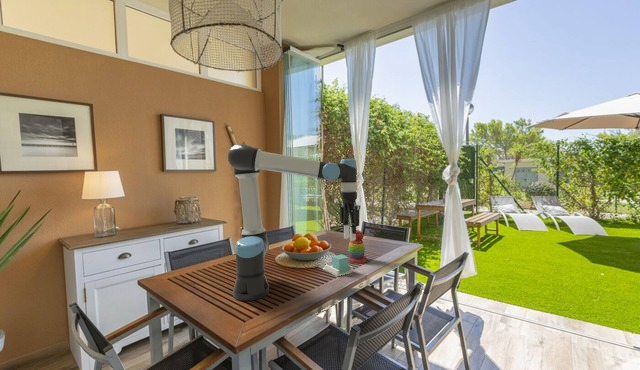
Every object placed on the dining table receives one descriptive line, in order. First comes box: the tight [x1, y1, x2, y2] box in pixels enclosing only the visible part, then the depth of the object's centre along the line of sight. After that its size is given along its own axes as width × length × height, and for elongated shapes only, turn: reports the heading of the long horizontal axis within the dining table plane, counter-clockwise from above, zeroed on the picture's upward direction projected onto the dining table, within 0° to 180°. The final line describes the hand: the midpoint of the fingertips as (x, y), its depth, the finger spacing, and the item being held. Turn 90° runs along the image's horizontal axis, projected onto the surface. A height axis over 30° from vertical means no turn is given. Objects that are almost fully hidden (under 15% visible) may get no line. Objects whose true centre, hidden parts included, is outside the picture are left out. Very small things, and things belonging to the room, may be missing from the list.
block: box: [331, 253, 350, 273], centre depth 145 cm, size 6×6×7 cm
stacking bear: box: [347, 229, 367, 265], centre depth 163 cm, size 11×10×18 cm
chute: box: [317, 262, 354, 277], centre depth 151 cm, size 10×20×3 cm, turn 33°
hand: (349, 239), depth 138 cm, fingers open, 4 cm apart
